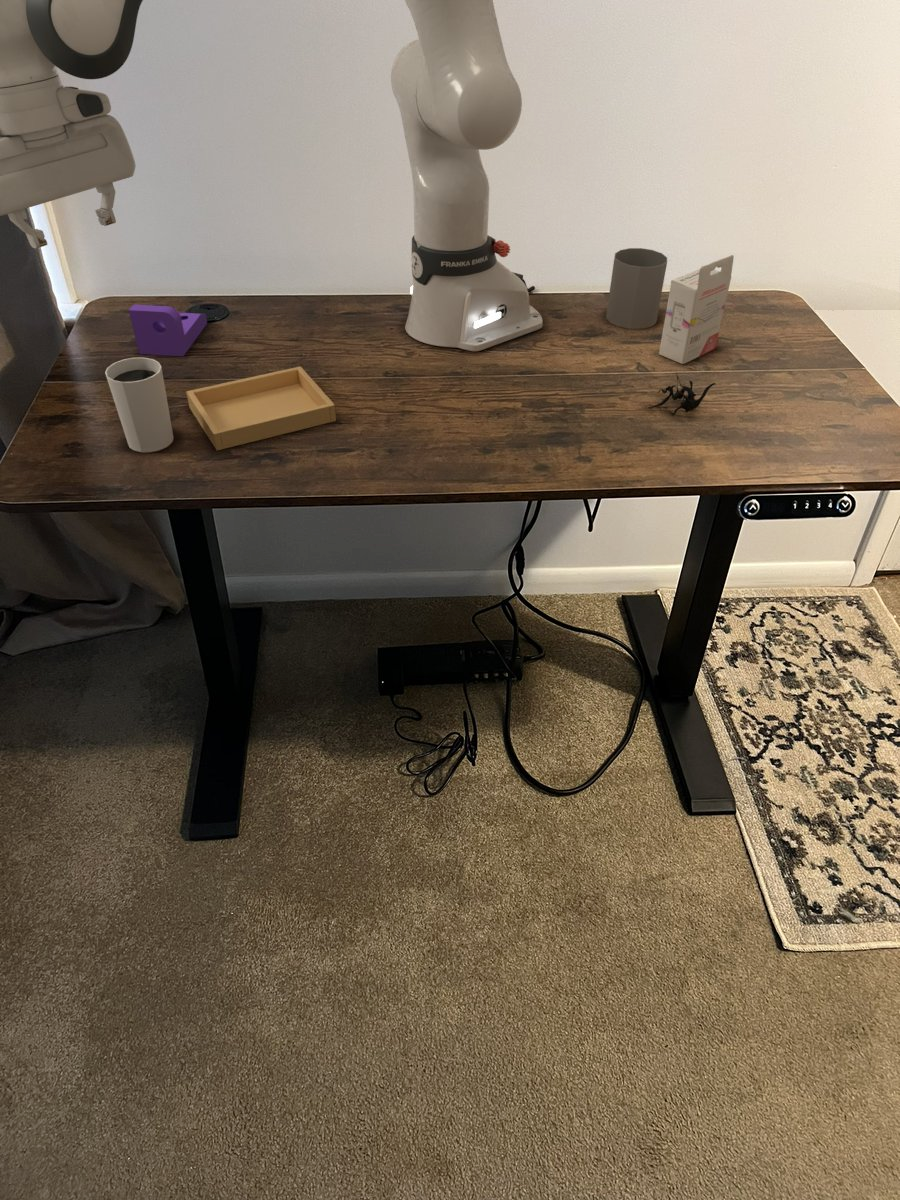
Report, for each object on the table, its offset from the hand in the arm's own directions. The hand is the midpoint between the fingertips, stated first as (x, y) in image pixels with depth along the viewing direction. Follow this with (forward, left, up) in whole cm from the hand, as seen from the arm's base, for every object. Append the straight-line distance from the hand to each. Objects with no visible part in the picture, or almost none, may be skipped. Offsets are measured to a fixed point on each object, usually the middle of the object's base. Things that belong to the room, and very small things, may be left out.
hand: (74, 235), depth 108 cm
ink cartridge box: (-81, +27, -22) cm, 88 cm away
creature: (-68, +40, -22) cm, 82 cm away
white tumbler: (-1, +15, -22) cm, 27 cm away
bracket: (-12, -13, -22) cm, 28 cm away
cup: (-81, +13, -22) cm, 85 cm away
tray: (-16, +15, -22) cm, 31 cm away
